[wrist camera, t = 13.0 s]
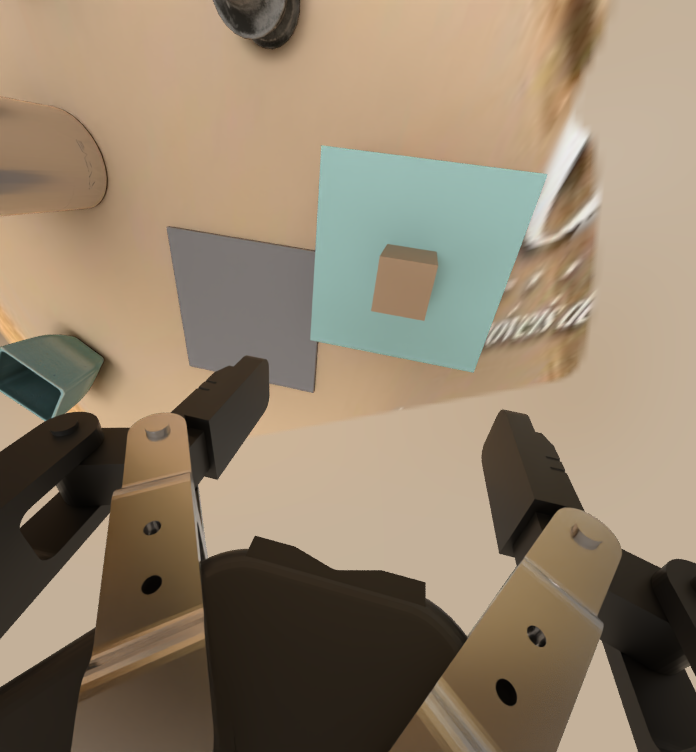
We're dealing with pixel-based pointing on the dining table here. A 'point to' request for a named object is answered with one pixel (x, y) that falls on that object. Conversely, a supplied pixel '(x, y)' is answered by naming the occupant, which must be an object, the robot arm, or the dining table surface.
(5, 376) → the flower pot
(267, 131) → the dining table surface
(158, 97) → the dining table surface
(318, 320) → the lid
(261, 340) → the mat
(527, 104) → the dining table surface
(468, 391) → the dining table surface
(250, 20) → the dark grey chess piece
